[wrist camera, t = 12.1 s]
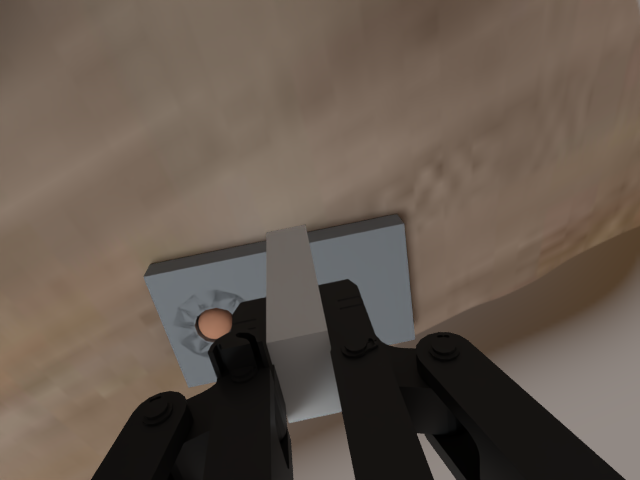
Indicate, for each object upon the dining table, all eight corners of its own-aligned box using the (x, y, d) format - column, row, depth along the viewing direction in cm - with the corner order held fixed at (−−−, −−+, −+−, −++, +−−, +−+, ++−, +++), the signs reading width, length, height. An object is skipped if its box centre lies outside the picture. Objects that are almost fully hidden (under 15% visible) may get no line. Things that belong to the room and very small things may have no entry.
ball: (243, 328, 45) (221, 331, 47) (233, 298, 44) (211, 301, 46) (220, 344, 42) (198, 345, 44) (209, 311, 42) (186, 314, 44)
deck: (192, 371, 49) (188, 387, 46) (150, 264, 43) (143, 277, 40) (408, 325, 49) (414, 339, 47) (396, 213, 43) (404, 223, 41)
